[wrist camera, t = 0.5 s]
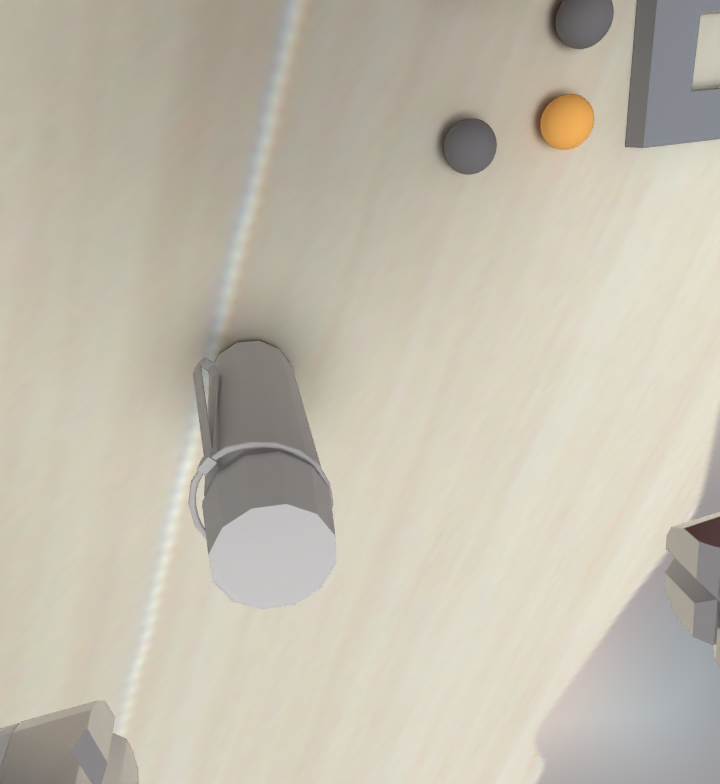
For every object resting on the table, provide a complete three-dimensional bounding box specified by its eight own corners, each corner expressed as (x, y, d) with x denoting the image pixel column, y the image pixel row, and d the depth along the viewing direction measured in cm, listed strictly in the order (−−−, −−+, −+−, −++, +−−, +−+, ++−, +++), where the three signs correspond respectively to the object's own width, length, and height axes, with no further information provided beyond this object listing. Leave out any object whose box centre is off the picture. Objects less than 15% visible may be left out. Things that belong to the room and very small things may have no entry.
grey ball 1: (435, 121, 48) (453, 121, 45) (484, 116, 49) (505, 115, 45) (437, 174, 50) (454, 179, 47) (484, 169, 51) (504, 173, 47)
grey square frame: (640, -38, 47) (661, -46, 45) (790, -48, 49) (818, -56, 47) (625, 146, 52) (643, 147, 50) (760, 130, 54) (784, 131, 52)
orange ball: (532, 97, 49) (556, 95, 46) (578, 92, 50) (606, 90, 46) (530, 151, 51) (554, 153, 47) (576, 146, 51) (602, 147, 48)
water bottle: (313, 368, 55) (378, 542, 32) (255, 431, 56) (278, 641, 33) (230, 302, 51) (237, 446, 28) (169, 371, 52) (131, 562, 30)
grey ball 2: (547, -8, 46) (574, -18, 43) (596, -11, 47) (627, -22, 43) (545, 53, 48) (571, 48, 45) (592, 49, 49) (622, 43, 45)
